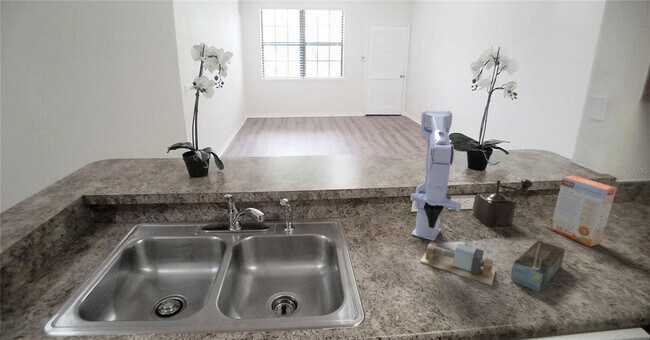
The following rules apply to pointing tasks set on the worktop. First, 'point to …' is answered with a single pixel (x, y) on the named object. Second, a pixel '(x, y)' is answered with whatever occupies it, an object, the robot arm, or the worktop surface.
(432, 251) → the pipe stand
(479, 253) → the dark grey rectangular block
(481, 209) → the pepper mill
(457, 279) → the worktop surface
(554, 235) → the worktop surface
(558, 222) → the cracker box
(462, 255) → the sleeve
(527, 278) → the beverage carton
